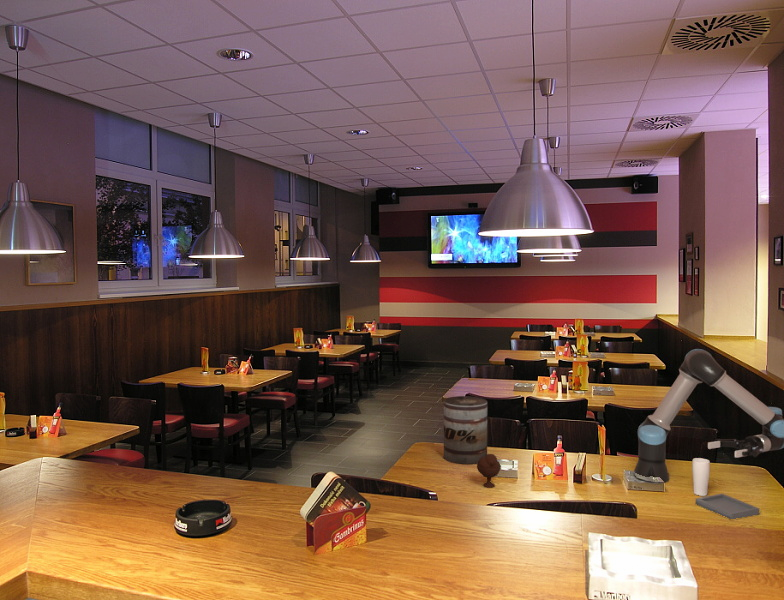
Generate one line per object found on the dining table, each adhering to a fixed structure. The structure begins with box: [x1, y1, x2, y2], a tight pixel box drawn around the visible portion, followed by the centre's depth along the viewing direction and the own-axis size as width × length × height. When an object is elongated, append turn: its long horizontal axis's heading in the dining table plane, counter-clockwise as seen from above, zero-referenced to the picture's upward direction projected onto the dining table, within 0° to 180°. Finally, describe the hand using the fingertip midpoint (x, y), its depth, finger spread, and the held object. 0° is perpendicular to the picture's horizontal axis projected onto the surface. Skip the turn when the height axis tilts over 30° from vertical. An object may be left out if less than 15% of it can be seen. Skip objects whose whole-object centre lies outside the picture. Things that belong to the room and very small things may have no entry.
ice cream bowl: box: [476, 453, 502, 489], centre depth 273 cm, size 11×11×15 cm
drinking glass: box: [691, 457, 711, 497], centre depth 261 cm, size 7×7×15 cm
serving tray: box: [695, 493, 760, 520], centre depth 245 cm, size 17×15×2 cm
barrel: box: [443, 395, 488, 466], centre depth 313 cm, size 22×22×30 cm
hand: (721, 449), depth 264 cm, fingers open, 13 cm apart
